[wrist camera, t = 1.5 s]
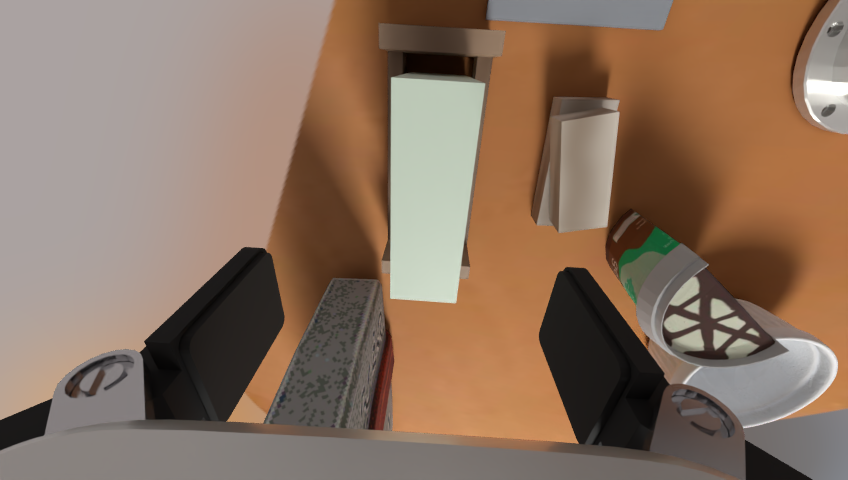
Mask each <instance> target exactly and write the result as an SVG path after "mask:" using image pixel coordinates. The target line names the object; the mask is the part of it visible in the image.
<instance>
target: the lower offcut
mask: <svg viewBox="0 0 848 480" xmlns="http://www.w3.org/2000/svg"><path fill="white" fill-rule="evenodd" d="M619 101H620V100H617V99H612V98H607V97H553V102H552V107H551V113H550V116H556V115H561V114H567V113H573V112H579V111H585V110H590V109H596V108H602V107H603V108H607V109H611V110H615V111H617V108H618V104H619ZM549 195H550V118H549V123H548V128H547V134H546V139H545V144H544V150H543V155H542V160H541V165H540V171H539V176H538V181H537V186H536V192H535V197H534V202H533V207H532V213H531V216H532V218H533V220H534V221H535V223H536V225H547V226H553V224H552V223H551V221H550V220H549Z"/></svg>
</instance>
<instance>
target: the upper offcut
mask: <svg viewBox="0 0 848 480" xmlns="http://www.w3.org/2000/svg"><path fill="white" fill-rule="evenodd" d="M618 122H619V111H615V110H611V109H607V108H603V107H602V108H596V109H590V110H585V111H579V112H573V113H567V114H561V115H556V116H550V195H549V220H550V221H551V223H552V224H553V226H554V227H555V228H556V230H557V231H558V233H563V232H571V231H579V230H586V229H594V228H602V227H607V223H608V214H609V205H610V196H611V186H612V177H613V168H614V159H615V149H616V140H617V131H618Z"/></svg>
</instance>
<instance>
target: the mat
mask: <svg viewBox="0 0 848 480" xmlns="http://www.w3.org/2000/svg"><path fill="white" fill-rule="evenodd" d="M672 2H673V0H488V5H487V13H486V20H498V21H515V22H531V23H547V24H564V25H580V26H596V27H613V28H629V29H645V30H663V28H664V25H665V22H666V19H667V17H668V14H669V11H670V8H671V5H672Z"/></svg>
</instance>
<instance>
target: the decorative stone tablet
mask: <svg viewBox="0 0 848 480" xmlns="http://www.w3.org/2000/svg"><path fill="white" fill-rule="evenodd" d="M393 366H394V355H393V347H392V339H391V336H390V334H389V333H388V332H387V330H385V319H384V307H383V295H382V285H381V283H380V281H379V280H376V279H349V278H333V279H332V280H331V282H330V283H329V285H328V287H327V289H326V291H325V293H324V295H323V297H322V299H321V301H320V303H319V305H318V307H317V309H316V311H315V313H314V315H313V317H312V319H311V321H310V323H309V325H308V327H307V329H306V331H305V333H304V335H303V337H302V339H301V341H300V343H299V345H298V347H297V349H296V351H295V353H294V355H293V358H292V360H291V362H290V364H289V367H288V369H287V371H286V373H285V375H284V378H283V380H282V382H281V384H280V387H279V389H278V391H277V393H276V396H275V398H274V400H273V402H272V405H271V407H270V409H269V411H268V414H267V416H266V418H265V420H264V423H263V424H279V425H297V426H315V427H332V428H349V429H365V430H382V431H392V425H393V415H392V388H391V379H392V373H393Z"/></svg>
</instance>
